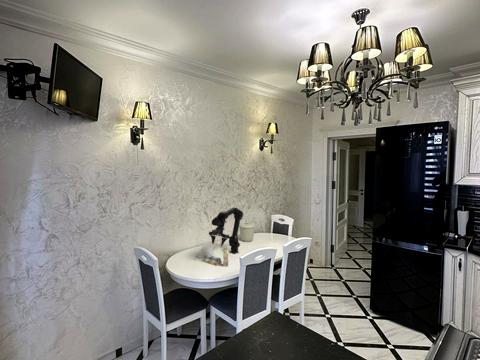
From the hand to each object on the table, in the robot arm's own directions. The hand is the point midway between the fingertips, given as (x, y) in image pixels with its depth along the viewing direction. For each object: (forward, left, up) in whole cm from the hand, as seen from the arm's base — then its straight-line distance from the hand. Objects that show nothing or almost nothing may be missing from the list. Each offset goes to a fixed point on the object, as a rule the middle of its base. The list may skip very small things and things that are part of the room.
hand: (217, 245), depth 224 cm
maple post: (+1, +13, -14) cm, 19 cm away
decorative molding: (-8, -25, -15) cm, 30 cm away
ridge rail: (+5, +1, -14) cm, 15 cm away
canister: (-62, -29, -14) cm, 70 cm away
